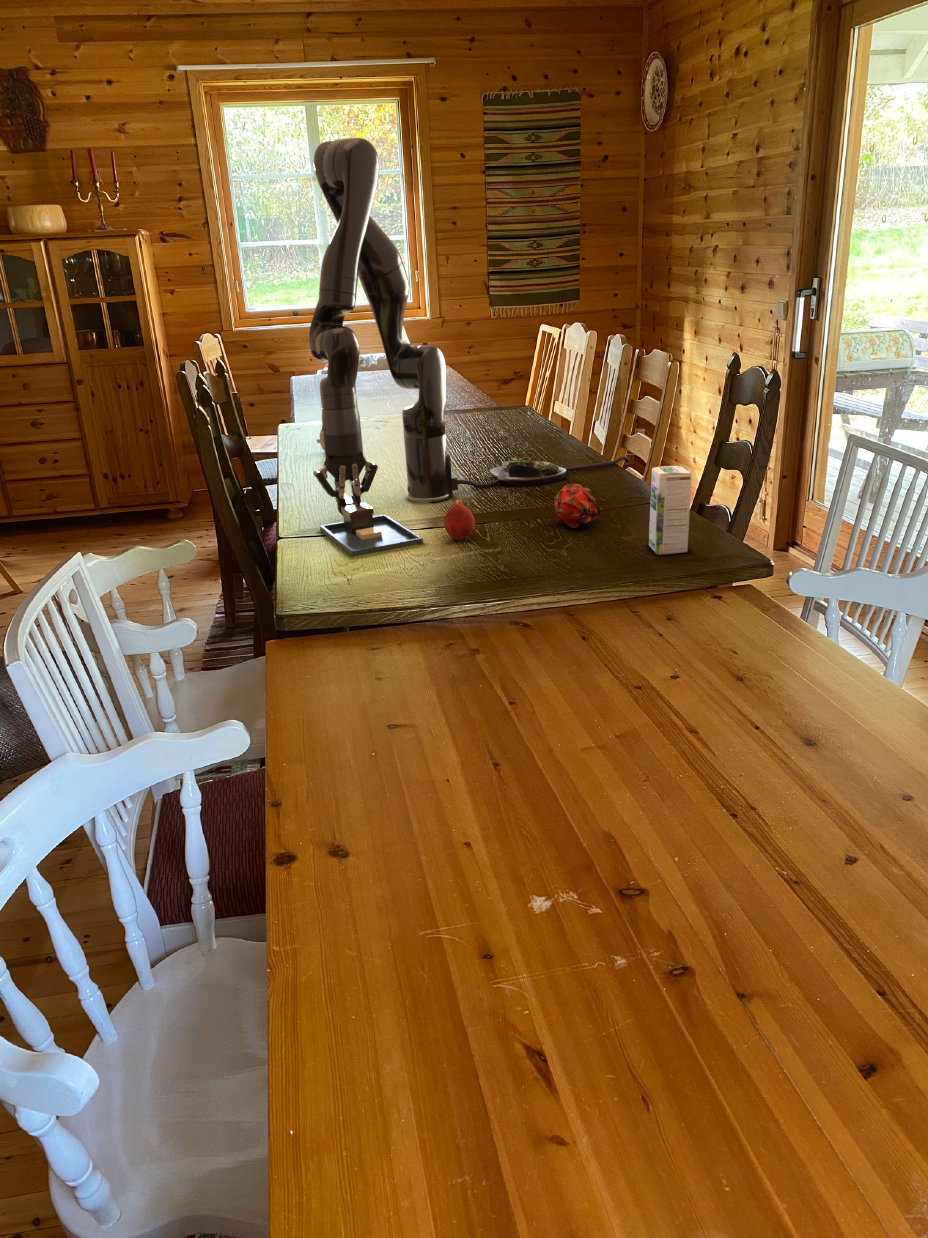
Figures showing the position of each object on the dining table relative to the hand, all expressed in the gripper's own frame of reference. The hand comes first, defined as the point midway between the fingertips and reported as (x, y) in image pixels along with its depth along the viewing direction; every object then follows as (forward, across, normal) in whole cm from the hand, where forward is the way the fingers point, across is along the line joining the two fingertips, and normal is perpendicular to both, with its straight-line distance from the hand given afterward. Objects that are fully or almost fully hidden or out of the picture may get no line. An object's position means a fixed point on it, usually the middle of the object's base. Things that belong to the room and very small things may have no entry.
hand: (350, 513), depth 188 cm
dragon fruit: (+2, +38, -26) cm, 46 cm away
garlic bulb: (+3, +20, +74) cm, 77 cm away
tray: (+2, 0, -11) cm, 11 cm away
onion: (+3, +14, -23) cm, 27 cm away
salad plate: (+3, +49, +14) cm, 51 cm away
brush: (+2, 0, -1) cm, 2 cm away
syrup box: (+2, +44, -49) cm, 65 cm away
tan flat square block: (+2, 0, -10) cm, 11 cm away
